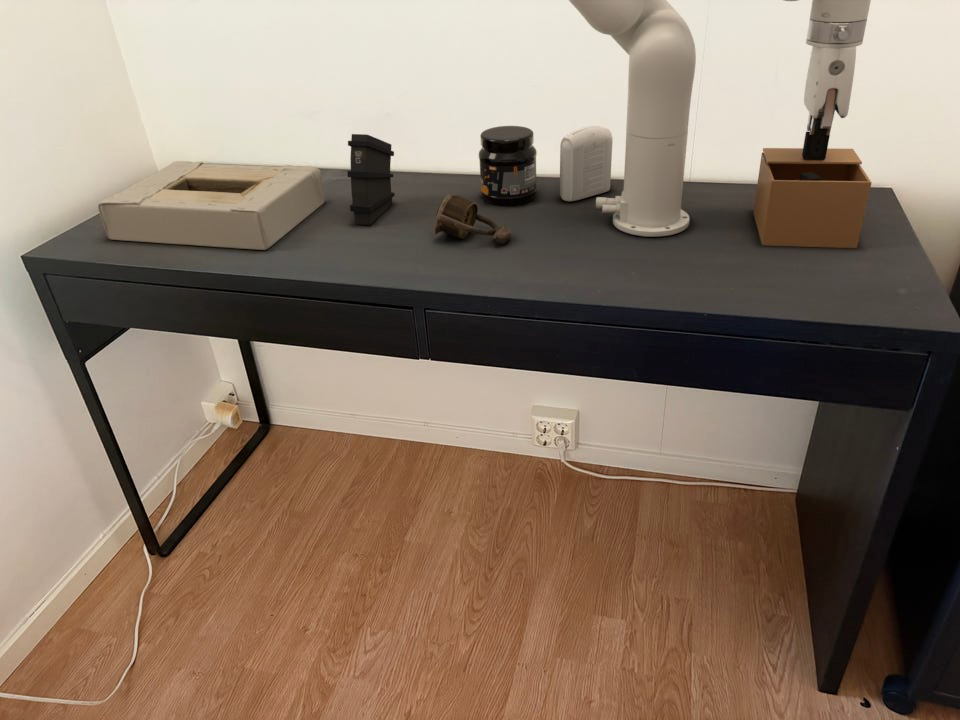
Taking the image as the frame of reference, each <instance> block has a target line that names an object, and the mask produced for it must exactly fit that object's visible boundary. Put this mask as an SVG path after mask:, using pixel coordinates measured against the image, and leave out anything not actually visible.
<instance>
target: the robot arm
mask: <svg viewBox="0 0 960 720" xmlns="http://www.w3.org/2000/svg"><path fill="white" fill-rule="evenodd" d="M783 1H785V2H797V1H799V0H783ZM568 2H570V3H571V5H572V6H573V7H574V8H575V9H576V10H577V11H578V12H579V14H580V15H581V16H582V17H583V18H584V20H585V21H586V22H587V23H588V25H589V26H590V27H591V28H593V29H594V30H595V31H596V32H599V33H600V34H604V35H607V36H610V37H611V38H612V39H613V40H614V41H615V42H616V43H617V45H619V47H620V48H621V49H622V50H623V51H625V53H626V54H627V55H628V56H629V58H628V80H627V81H628V82H627V83H628V84H627V105H626V106H627V107H626V123H625V125H626V126H625V152H624V155H625V156H624V171H623V173H624V174H623V190H622V191H621V195H615V197H601V196H597V197H596V199H595V209H598V210H599V209H600V210H601V213H602V214H610V213H612V225H613V226H614V227H615V228H616V229H618V230H619V231H620V232H623V233H626V234H629V235H632V236H638V237H646V238H660V237H668V236H672V235H677V234H680V233H681V232H683V231H685V230H686V229H687V228H688V227H689V225H690V215H689V214H688V212H686V211H685V210H683V209H682V199H683V189H684V180H685V179H684V178H685V169H686V168H685V167H686V159H687V158H686V157H687V146H688V134H689V122H690V110H691V101H692V95H693V94H692V93H693V87H694V86H693V85H694V80H695V72H696V65H697V64H696V62H697V53H696V52H697V51H696V44H695V40H694V36H693V34H692V32H691V29H690V27H689V25H688V24H687V22H686V21H685V19H684V18H683V17H682V16H681V14H679V12H678V11H677V10H676V9H675V8H674V7H673V6H672V5H671V3H670V2H669V1H668V0H568ZM870 6H871V0H812V2H811V8H810V15H809V21H808V28H807V34H806V40H805V44H806V45H807V46H812V48H811V52H810V58H809V63H808V68H807V69H808V70H807V74H806V80H805V85H804V96H803V104H804V106H805V108H806V110H807V111H808V118H807V124H806V125H807V126H806V131H805V134H804V140H803V145H802V148H803V152H802V157H803V159H804V160H825V158H826V153H827V149H829V142H830V137H831V130H832V125H833V121H834V116H835V112H836V113H837V115H838V116H839V117H840V119H845V118H846V117H847V116H848V114H849V109H850V103H851V102H850V101H851V96H852V89H853V83H854V77H855V69H856V60H857V59H856V57H857V47H859V46H862V45H863V41H864V37H865V32H866V27H867V23H868V17H869V12H870Z"/></svg>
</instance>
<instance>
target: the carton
mask: <svg viewBox="0 0 960 720" xmlns="http://www.w3.org/2000/svg"><path fill="white" fill-rule="evenodd" d="M808 172H813V173H815V174H816V175H818V176H820V177H821V181H801V180H798V179H800V174H801V173H808ZM872 183H873V182H872V181H871V179H870V178H869V176H868V175H867V173H866V172H865V170H864V169H863V167H862V166H861V164H785V163H767V161H766V158H765V155H764V152H761V157H760V162H759V170H758V177H757V184H756V190H755V191H756V192H755V198H754V204H753V210H752V213H753V216H754V220H755V224H756V228H757V232H758V235H759V240H760V243H761V246H766V247H767V246H769V247H771V246H773V247H803V248H804V247H805V248H806V247H807V248H808V247H809V248H834V249H835V248H836V249H857V248H858V246H859V240H860V236H861V232H862V227H863V224H864V223H863V222H864V218H865V214H866V211H867V210H866V209H867V205H868V202H869V201H868V200H869V197H870V192H871V186H872Z"/></svg>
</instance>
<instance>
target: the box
mask: <svg viewBox="0 0 960 720" xmlns="http://www.w3.org/2000/svg"><path fill="white" fill-rule="evenodd" d="M325 200H326V194H325V185H324V180H323V175H322V171H321V169H320V168H319V167H317V166H311V165H310V166H309V165H303V166H302V165H300V166H299V165H298V166H295V165H290V164H287V165H284V166H271V165H270V166H269V165H248V164H224V163H204V162H203V161H188V160H177V161H173V162H171V163H170V164H168V165H167V166H165V167H163V168H161V169H160V170H158V171H156V172H154V173H153V174H151V175H149V176H147V177H145V178H143V179H142V180H140V181H137V182H136V183H134V184H132V185H131V186H128V187H127V188H125V189H122V190H121V191H119V192H117V193H116V194H114V195H111V196H109V197H107V198H104V199H103V200H101V201H99V203H98V206H97V209H98V213H99V216H100V219H101V222H102V225H103V227H104V231H105V233H106V235H107V238H108V239H109V240H111V241H112V240H113V241H124V242H125V241H126V242H138V243H139V242H142V243H157V244H169V245H184V246H185V245H187V246H199V247H212V248H213V247H214V248H225V249H226V248H227V249H244V250H258V251H267V250H268V249H269V248H271V247H272V246H273V245H274V244H276V243H277V242H278V241H280V239H282V238H283V237H285V236H286V235H287V234H288V233H289V232H290V231H292V230H293V229H294V228H295V227H297V226H298V225H299V224H300V223H301V222H303V221H304V220H305V219H306V218H307V217H309V216H311V214H312V213H314V212H315V211H317V210H318V208H320V207H321V206H322V205H324V204H325Z"/></svg>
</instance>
